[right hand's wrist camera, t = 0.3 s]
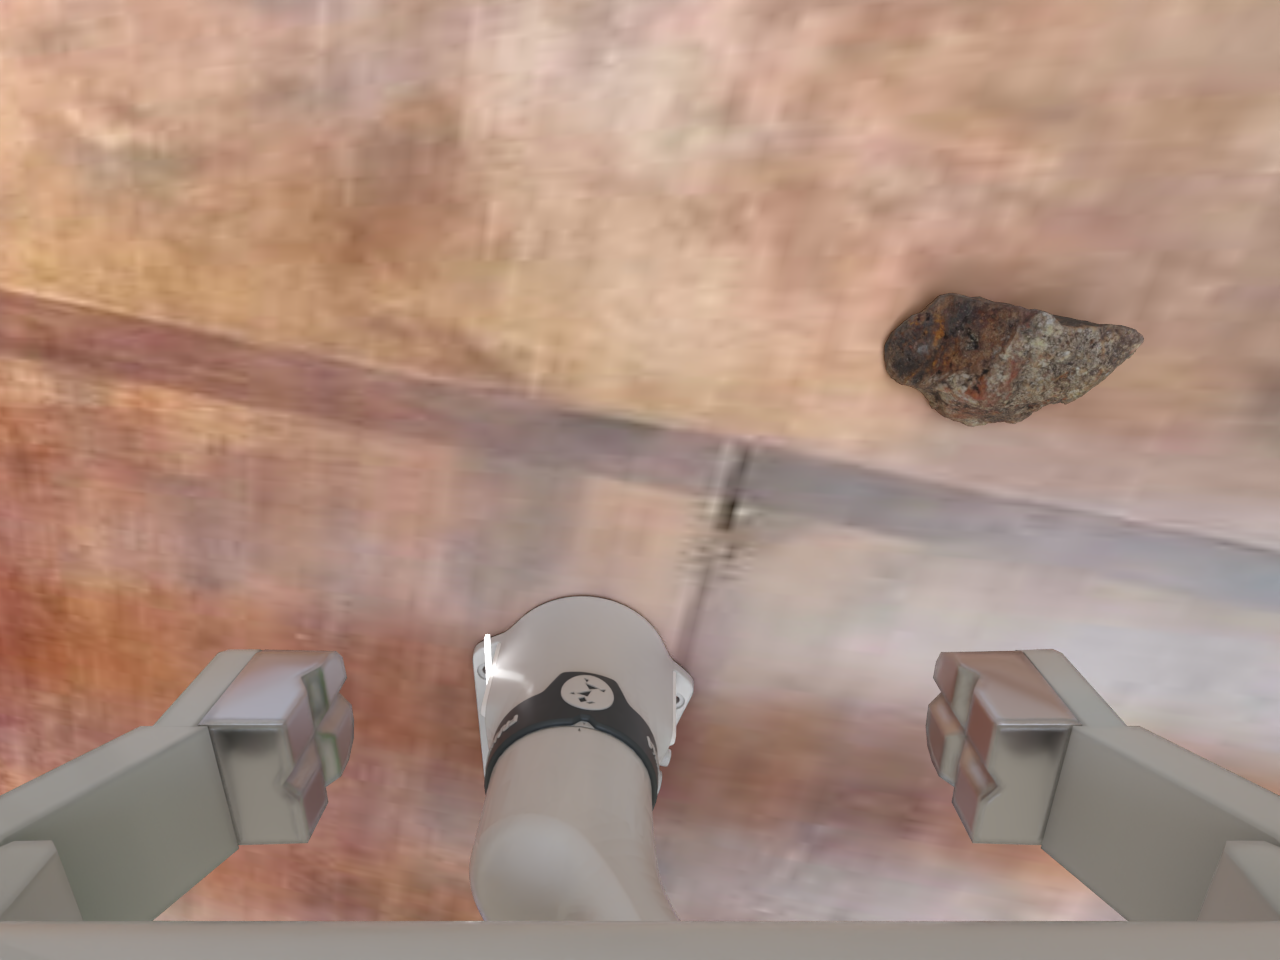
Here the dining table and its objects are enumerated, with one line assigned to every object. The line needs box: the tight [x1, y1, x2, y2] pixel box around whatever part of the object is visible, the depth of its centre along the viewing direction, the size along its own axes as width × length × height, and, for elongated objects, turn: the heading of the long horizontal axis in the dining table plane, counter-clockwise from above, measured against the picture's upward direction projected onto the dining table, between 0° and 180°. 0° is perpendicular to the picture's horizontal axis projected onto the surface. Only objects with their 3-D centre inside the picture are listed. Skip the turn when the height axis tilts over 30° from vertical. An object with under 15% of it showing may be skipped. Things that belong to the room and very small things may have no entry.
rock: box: [885, 293, 1144, 426], centre depth 51 cm, size 14×9×10 cm
